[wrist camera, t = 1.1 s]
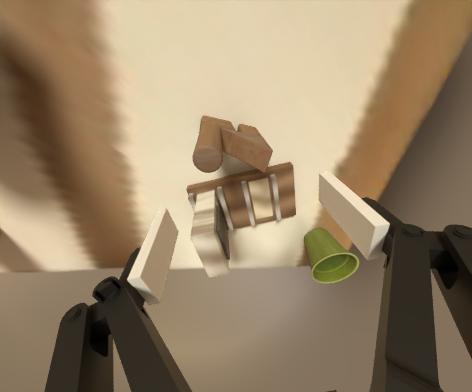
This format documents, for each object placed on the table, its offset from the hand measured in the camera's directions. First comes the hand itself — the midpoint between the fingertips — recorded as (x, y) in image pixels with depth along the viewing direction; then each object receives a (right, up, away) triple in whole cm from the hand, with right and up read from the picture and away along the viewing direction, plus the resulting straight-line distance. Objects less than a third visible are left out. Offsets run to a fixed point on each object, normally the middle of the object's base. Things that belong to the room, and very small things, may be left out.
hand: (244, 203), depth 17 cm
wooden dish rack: (+1, 0, +31) cm, 31 cm away
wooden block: (-2, +14, +22) cm, 26 cm away
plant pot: (+23, -11, +41) cm, 48 cm away
